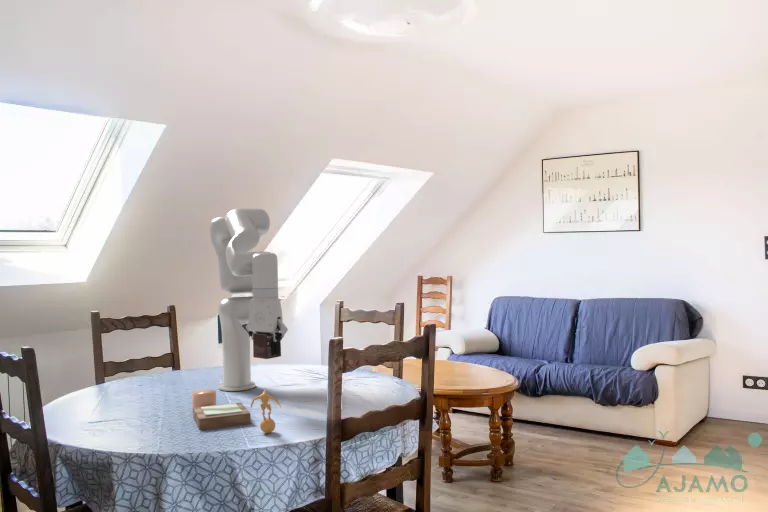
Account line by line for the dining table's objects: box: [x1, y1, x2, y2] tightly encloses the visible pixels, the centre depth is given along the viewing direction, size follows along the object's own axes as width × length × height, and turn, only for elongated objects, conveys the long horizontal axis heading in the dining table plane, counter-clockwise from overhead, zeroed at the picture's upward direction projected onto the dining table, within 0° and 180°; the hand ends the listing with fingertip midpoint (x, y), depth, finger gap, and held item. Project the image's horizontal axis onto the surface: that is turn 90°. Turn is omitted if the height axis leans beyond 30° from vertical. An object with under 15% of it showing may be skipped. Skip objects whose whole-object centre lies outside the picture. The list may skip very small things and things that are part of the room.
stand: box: [192, 401, 252, 431], centre depth 198 cm, size 14×14×3 cm
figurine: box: [250, 389, 282, 434], centre depth 184 cm, size 8×6×12 cm
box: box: [252, 332, 282, 360], centre depth 208 cm, size 6×6×7 cm
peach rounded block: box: [191, 389, 217, 411], centre depth 209 cm, size 7×7×6 cm
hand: (266, 353), depth 208 cm, fingers closed on box, 6 cm apart
